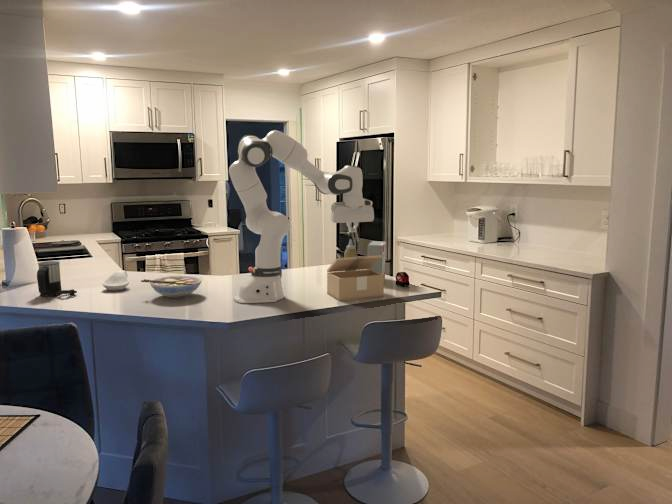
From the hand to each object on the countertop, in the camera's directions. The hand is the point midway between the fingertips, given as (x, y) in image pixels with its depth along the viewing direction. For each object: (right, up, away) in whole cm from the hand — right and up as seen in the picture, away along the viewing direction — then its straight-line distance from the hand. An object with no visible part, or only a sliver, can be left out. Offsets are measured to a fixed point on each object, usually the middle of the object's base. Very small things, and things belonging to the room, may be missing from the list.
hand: (352, 232), depth 250 cm
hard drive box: (+13, -24, +30) cm, 41 cm away
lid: (+1, -15, 0) cm, 15 cm away
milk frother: (-134, -29, -1) cm, 137 cm away
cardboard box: (+1, -29, +1) cm, 29 cm away
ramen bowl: (-79, -29, -2) cm, 85 cm away
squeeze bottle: (+1, -20, +55) cm, 59 cm away
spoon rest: (-113, -26, +16) cm, 117 cm away
